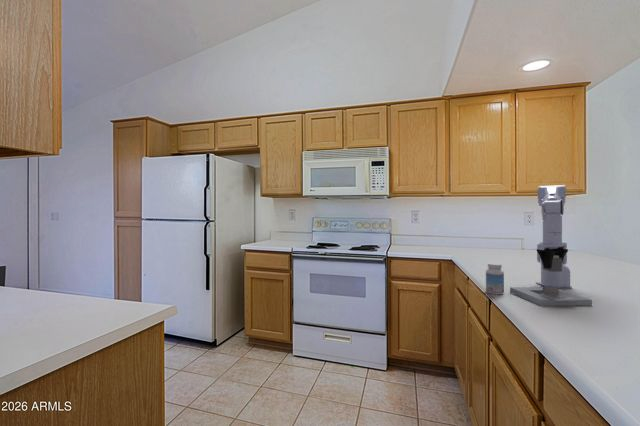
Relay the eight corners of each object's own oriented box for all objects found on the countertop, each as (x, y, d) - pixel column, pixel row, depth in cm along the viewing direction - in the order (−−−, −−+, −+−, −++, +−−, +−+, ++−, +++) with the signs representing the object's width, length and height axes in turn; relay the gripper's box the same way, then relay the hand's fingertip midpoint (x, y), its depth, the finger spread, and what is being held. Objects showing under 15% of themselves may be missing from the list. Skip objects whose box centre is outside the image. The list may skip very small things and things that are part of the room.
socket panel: (553, 292, 114) (553, 287, 114) (591, 305, 98) (591, 299, 98) (510, 292, 114) (510, 287, 114) (541, 305, 98) (541, 299, 98)
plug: (553, 269, 113) (553, 254, 112) (561, 271, 109) (561, 256, 108) (542, 269, 113) (542, 254, 112) (551, 271, 109) (551, 256, 108)
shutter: (558, 294, 103) (558, 286, 103) (574, 300, 96) (575, 291, 96) (540, 294, 103) (540, 286, 103) (555, 300, 96) (555, 291, 96)
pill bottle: (507, 294, 111) (507, 265, 110) (491, 294, 111) (491, 265, 111) (498, 290, 117) (498, 262, 117) (482, 290, 117) (482, 262, 117)
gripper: (552, 230, 117) (552, 264, 117) (528, 232, 111) (528, 267, 111) (573, 231, 110) (573, 267, 110) (549, 233, 105) (549, 270, 105)
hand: (552, 267), depth 111 cm, fingers closed on plug, 5 cm apart
